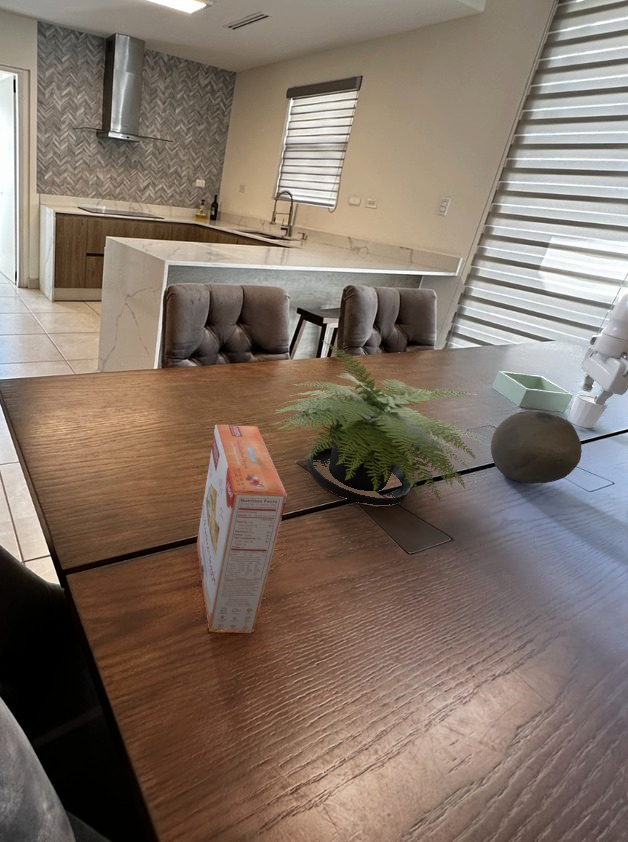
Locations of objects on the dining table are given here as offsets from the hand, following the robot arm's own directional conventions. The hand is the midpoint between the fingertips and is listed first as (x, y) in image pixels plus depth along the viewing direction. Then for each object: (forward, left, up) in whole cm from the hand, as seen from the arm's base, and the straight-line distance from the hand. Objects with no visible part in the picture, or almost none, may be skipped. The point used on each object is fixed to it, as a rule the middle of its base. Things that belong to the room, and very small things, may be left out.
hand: (591, 396), depth 124 cm
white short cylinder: (0, 0, -8) cm, 8 cm away
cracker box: (+101, +69, -8) cm, 122 cm away
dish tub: (+6, -13, -8) cm, 16 cm away
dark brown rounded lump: (+38, +33, -8) cm, 51 cm away
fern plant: (+73, +39, -8) cm, 83 cm away
